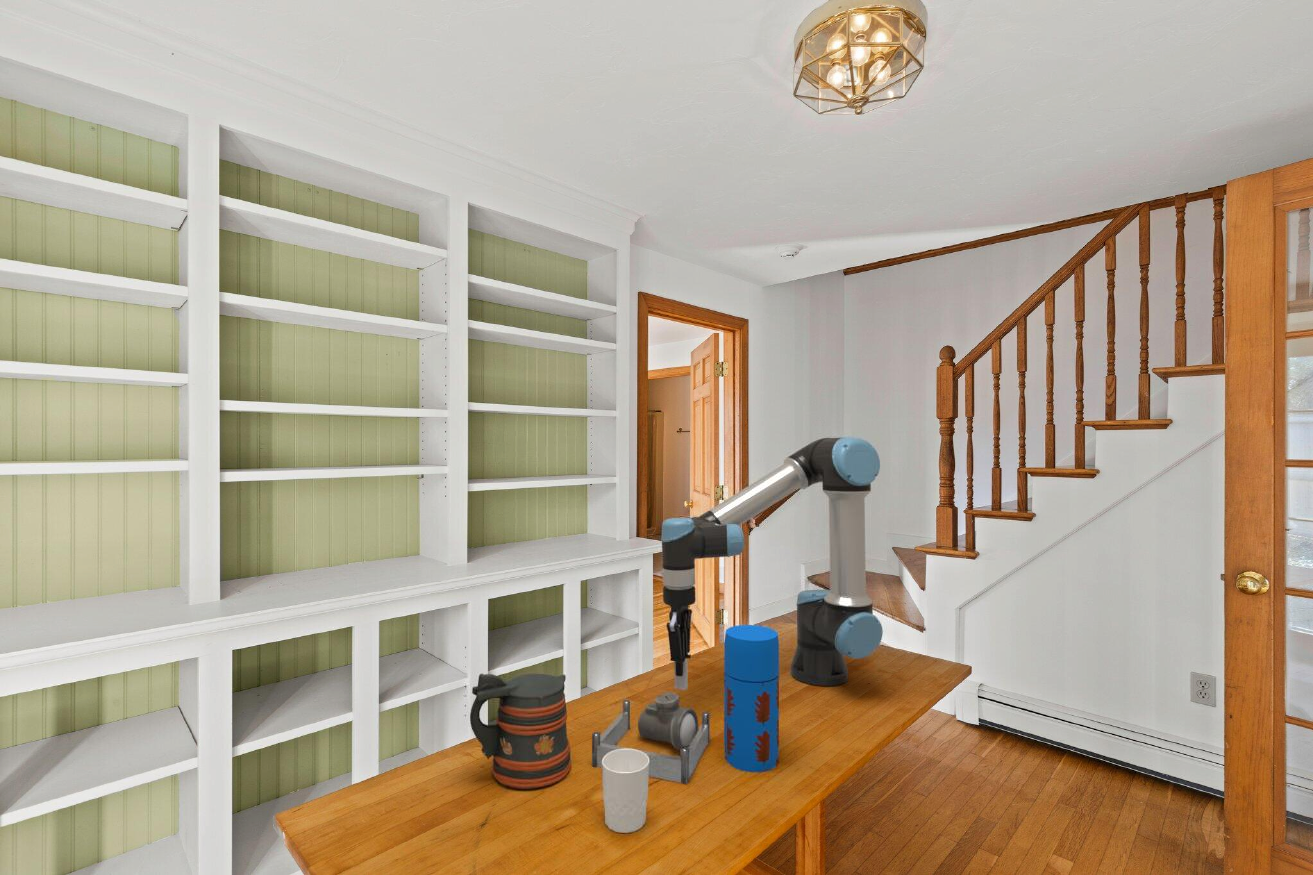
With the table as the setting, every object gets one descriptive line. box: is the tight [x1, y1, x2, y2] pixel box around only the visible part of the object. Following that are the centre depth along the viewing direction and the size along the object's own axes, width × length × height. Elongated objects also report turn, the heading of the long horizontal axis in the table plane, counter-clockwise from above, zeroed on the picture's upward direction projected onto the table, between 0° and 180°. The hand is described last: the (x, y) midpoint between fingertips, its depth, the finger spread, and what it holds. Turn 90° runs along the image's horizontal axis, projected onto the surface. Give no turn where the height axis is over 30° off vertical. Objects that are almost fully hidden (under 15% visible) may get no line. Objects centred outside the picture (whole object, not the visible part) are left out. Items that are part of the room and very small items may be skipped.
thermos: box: [723, 624, 780, 773], centre depth 121 cm, size 11×11×25 cm
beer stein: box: [469, 673, 572, 790], centre depth 115 cm, size 19×15×20 cm
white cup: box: [601, 748, 650, 834], centre depth 101 cm, size 8×8×10 cm
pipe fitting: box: [637, 692, 700, 751], centre depth 127 cm, size 12×8×10 cm
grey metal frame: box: [591, 699, 711, 785], centre depth 123 cm, size 18×20×6 cm
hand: (681, 687), depth 140 cm, fingers closed
